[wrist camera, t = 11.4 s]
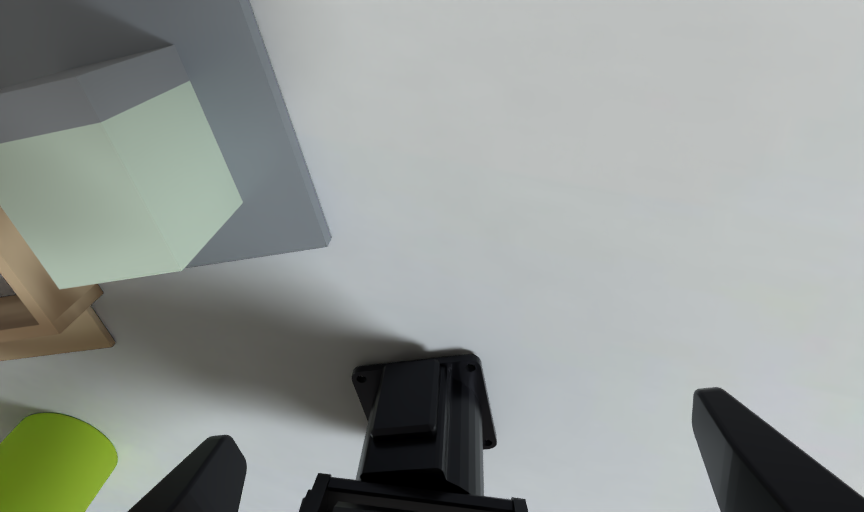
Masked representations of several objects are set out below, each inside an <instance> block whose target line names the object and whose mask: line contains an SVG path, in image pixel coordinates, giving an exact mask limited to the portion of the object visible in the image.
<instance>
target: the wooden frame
mask: <svg viewBox="0 0 864 512" xmlns="http://www.w3.org/2000/svg"><path fill="white" fill-rule="evenodd" d="M0 273H1V275H2V276H3V277H4V279H5V280H6V281H7V282H8V284H9V285H10V286H11V288H12V289H13V290H14V292H15V293H16V294H17V295H13V296H6V297H0V361H5V360H13V359H21V358H29V357H37V356H45V355H53V354H61V353H69V352H77V351H85V350H93V349H101V348H109V347H113V346H114V345H115V341H114V340H113V338H112V337H111V335H110V334H109V332H108V331H107V329H106V328H105V326H104V325H103V324H102V322H101V321H100V319H99V318H98V316H97V315H96V313H95V312H94V310H93V309H92V307H91V306H90V305H92V304H93V303H94V302H95V301H96V300H97V299H98V298H99V297H100V296H101V295H102V294H103V291H102V290H101V288H100V287H99V285H98V284H92V285H85V286H79V287H72V288H65V289H59V288H58V287H57V285H56V284H55V282H54V281H53V280H52V278H51V277H50V275H49V274H48V272H47V271H46V270H45V268H44V267H43V265H42V264H41V263H40V261H39V260H38V258H37V257H36V256H35V254H34V253H33V251H32V250H31V248H30V247H29V246H28V244H27V243H26V241H25V240H24V239H23V237H22V236H21V234H20V233H19V232H18V230H17V229H16V227H15V226H14V224H13V223H12V222H11V220H10V219H9V217H8V216H7V215H6V213H5V212H4V210H3V209H2V208H1V206H0Z"/></svg>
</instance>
